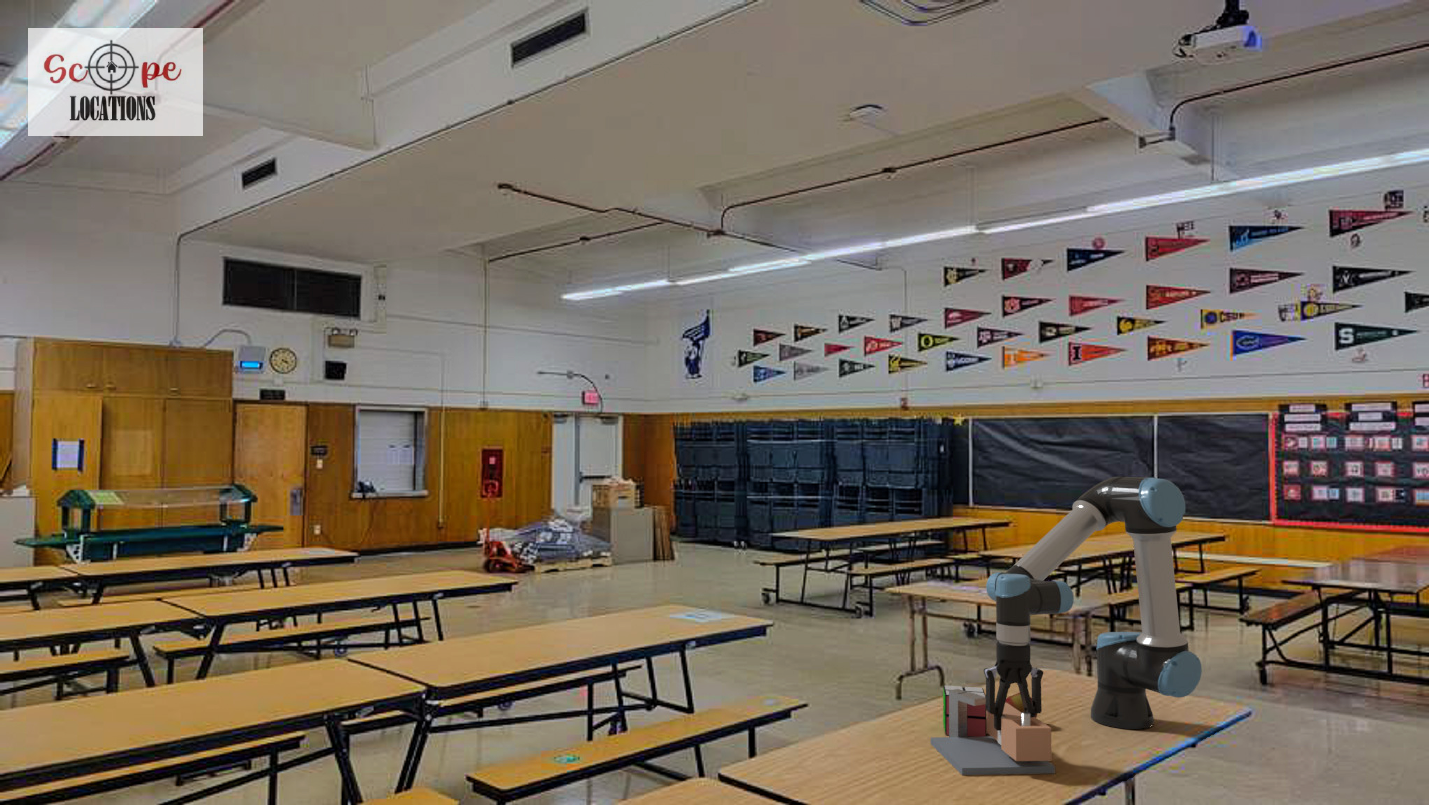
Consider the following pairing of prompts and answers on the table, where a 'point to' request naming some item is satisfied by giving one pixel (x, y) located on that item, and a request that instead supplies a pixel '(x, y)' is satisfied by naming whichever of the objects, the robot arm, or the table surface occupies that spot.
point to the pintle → (1025, 723)
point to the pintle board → (984, 757)
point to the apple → (1017, 702)
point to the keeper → (961, 710)
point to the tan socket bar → (1021, 736)
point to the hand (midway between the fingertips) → (1013, 744)
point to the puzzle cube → (974, 713)
